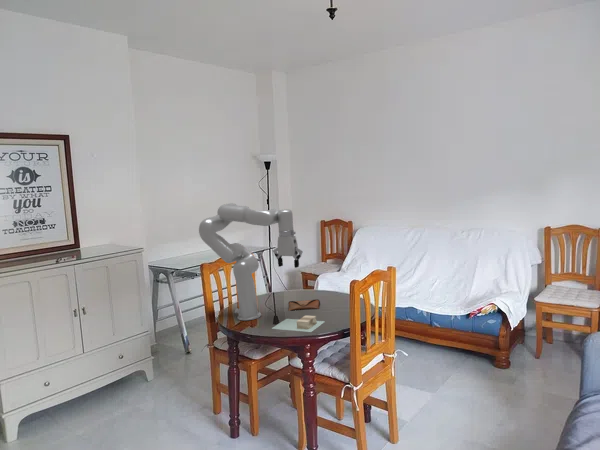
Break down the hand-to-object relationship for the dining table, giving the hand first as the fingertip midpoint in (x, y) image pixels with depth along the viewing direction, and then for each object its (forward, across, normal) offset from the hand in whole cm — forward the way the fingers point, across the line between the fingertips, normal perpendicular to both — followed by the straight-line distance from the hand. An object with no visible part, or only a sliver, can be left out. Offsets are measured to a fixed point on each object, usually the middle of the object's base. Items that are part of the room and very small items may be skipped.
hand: (288, 266), depth 237 cm
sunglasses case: (+28, +2, -16) cm, 32 cm away
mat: (+26, -10, +11) cm, 31 cm away
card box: (+26, -15, +11) cm, 32 cm away
